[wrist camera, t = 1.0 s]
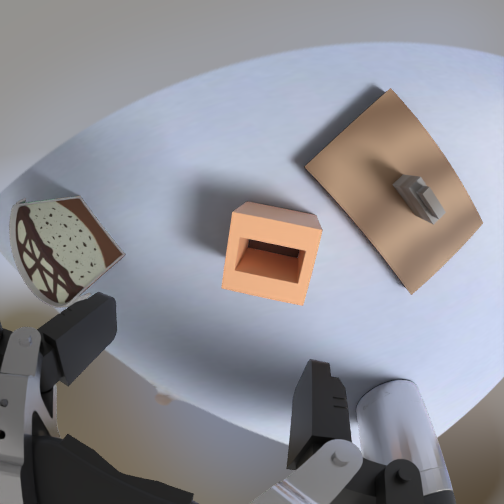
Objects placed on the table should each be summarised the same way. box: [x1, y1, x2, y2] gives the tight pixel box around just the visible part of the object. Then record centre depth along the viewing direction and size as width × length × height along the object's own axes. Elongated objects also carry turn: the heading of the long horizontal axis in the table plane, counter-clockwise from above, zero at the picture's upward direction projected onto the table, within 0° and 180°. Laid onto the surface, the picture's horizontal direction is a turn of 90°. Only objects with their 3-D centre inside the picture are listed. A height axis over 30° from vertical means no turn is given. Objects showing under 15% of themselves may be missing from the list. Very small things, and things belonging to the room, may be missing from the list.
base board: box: [304, 88, 483, 295], centre depth 19 cm, size 16×11×6 cm
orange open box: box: [222, 201, 322, 306], centre depth 23 cm, size 6×6×6 cm
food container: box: [9, 196, 126, 307], centre depth 24 cm, size 12×6×10 cm, turn 42°
